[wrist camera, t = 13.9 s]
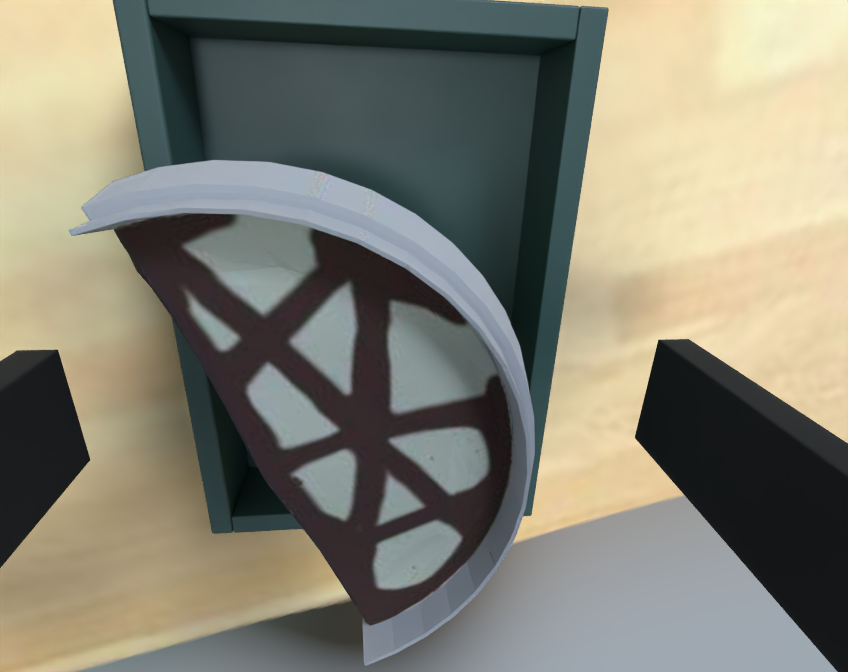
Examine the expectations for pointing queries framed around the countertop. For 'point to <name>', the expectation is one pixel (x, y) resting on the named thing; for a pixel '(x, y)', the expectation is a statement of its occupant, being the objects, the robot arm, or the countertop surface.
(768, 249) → the countertop surface
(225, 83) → the tray
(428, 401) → the food container
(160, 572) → the countertop surface
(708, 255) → the countertop surface
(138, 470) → the countertop surface
